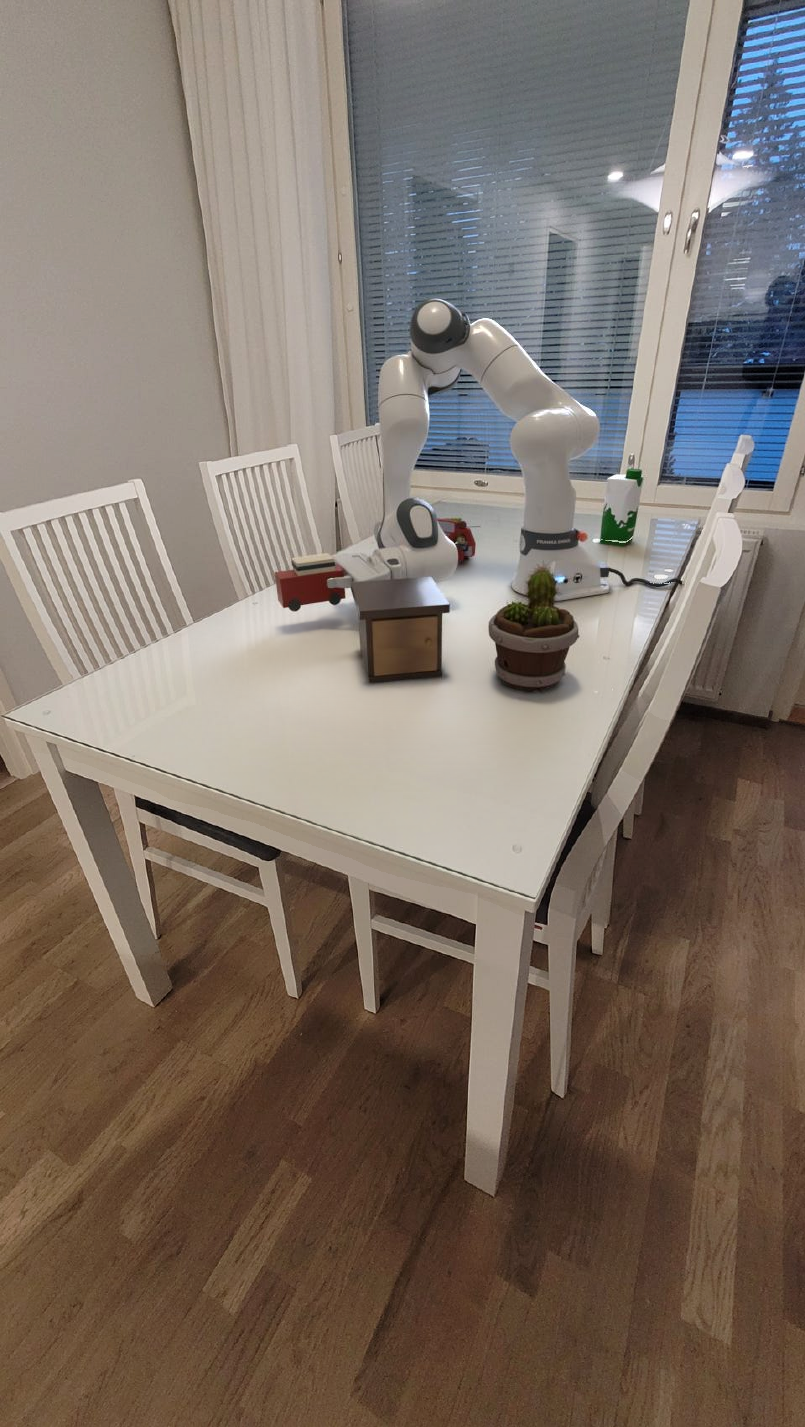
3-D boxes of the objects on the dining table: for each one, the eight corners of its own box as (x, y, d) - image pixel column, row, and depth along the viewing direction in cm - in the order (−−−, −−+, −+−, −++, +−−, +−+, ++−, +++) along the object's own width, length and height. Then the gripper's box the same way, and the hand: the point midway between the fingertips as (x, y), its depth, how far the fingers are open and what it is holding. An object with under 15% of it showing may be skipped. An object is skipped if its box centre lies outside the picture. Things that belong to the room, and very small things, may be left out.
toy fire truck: (467, 565, 169) (469, 525, 164) (426, 559, 175) (427, 520, 170) (479, 559, 174) (481, 520, 169) (439, 552, 180) (439, 515, 175)
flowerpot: (555, 707, 103) (570, 586, 93) (470, 685, 110) (474, 571, 100) (585, 672, 113) (600, 561, 103) (505, 654, 120) (512, 548, 110)
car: (338, 595, 137) (335, 551, 132) (346, 603, 132) (342, 557, 128) (278, 604, 133) (272, 559, 128) (284, 613, 128) (278, 566, 124)
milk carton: (626, 547, 181) (637, 473, 171) (595, 543, 186) (604, 470, 176) (636, 540, 187) (648, 468, 177) (606, 536, 192) (616, 465, 182)
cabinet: (430, 643, 125) (431, 576, 119) (449, 679, 112) (450, 605, 105) (354, 650, 123) (350, 582, 117) (363, 687, 110) (359, 612, 103)
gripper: (368, 543, 142) (308, 550, 138) (403, 567, 125) (335, 577, 121) (370, 570, 145) (310, 579, 141) (404, 598, 129) (337, 609, 124)
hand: (322, 578), depth 131 cm, fingers closed on car, 5 cm apart
